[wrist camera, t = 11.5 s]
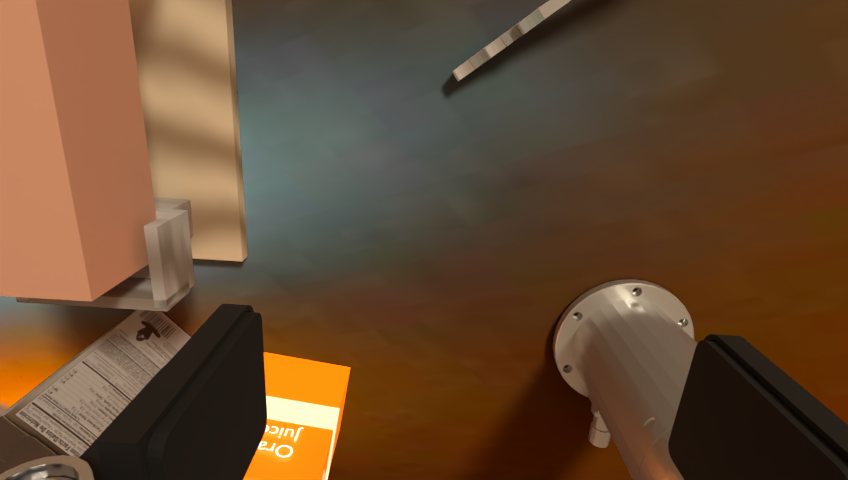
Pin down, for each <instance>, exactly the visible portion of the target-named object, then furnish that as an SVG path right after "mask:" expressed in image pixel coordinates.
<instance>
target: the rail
mask: <svg viewBox="0 0 848 480" xmlns="http://www.w3.org/2000/svg"><path fill="white" fill-rule="evenodd" d="M156 219H157V218H156V210H155V202H154V195H153V187H152V179H151V171H150V164H149V156H148V148H147V140H146V133H145V125H144V117H143V110H142V102H141V94H140V86H139V79H138V71H137V63H136V55H135V48H134V40H133V32H132V24H131V17H130V9H129V1H128V0H0V296H9V297H26V298H42V299H59V300H75V301H93V300H95V299H96V298H98V297H100V296H101V295H103V294H104V293H106V292H107V291H109V290H110V289H112V288H113V287H115V286H116V285H118V284H119V283H121V282H122V281H124V280H125V279H127V278H128V277H130V276H131V275H133V274H134V273H136V272H137V271H139V270H140V269H142V268H143V267H145V266H146V265H148V264H149V263H148V255H147V248H146V241H145V233H144V226H145V225H147V224H149V223H151V222H153V221H154V220H156Z"/></svg>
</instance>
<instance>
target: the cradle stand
mask: <svg viewBox="0 0 848 480" xmlns="http://www.w3.org/2000/svg"><path fill="white" fill-rule="evenodd" d="M128 1H129V9H130V17H131V24H132V32H133V40H134V48H135V55H136V63H137V71H138V79H139V86H140V94H141V102H142V110H143V117H144V125H145V133H146V140H147V148H148V156H149V164H150V171H151V179H152V187H153V195H154V202H155V210H156V218H157V219H156V220H154V221H153V222H151V223H149V224H147V225H145V226H144V233H145V241H146V248H147V255H148V263H149V264H148V265H146V266H145V267H143V268H142V269H140V270H139V271H137V272H136V273H134V274H133V275H131V276H130V277H128V278H127V279H125V280H124V281H122V282H121V283H119V284H118V285H116V286H115V287H113V288H112V289H110V290H109V291H107V292H106V293H104V294H103V295H101V296H100V297H98V298H96V299H95V300H93V301H75V300H59V299H42V298H26V297H16V299H17V302H23V303H40V304H56V305H72V306H88V307H104V308H120V309H136V310H152V311H169V310H170V309H171V308H172V307H173V306H174V305H175V304H177V303H178V302H179V301H180V300H181V299H182V298H183V297H184V296H186V295H187V294H188V293H189V292H190V288H191V287H192V286H194V285H195V278H194V268H193V258H194V259H210V260H226V261H241V262H243V261H244V260H245V259H246V258H247V257H248V256H247V240H246V224H245V208H244V192H243V176H242V160H241V144H240V128H239V112H238V96H237V81H236V65H235V49H234V33H233V17H232V1H231V0H128Z"/></svg>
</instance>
